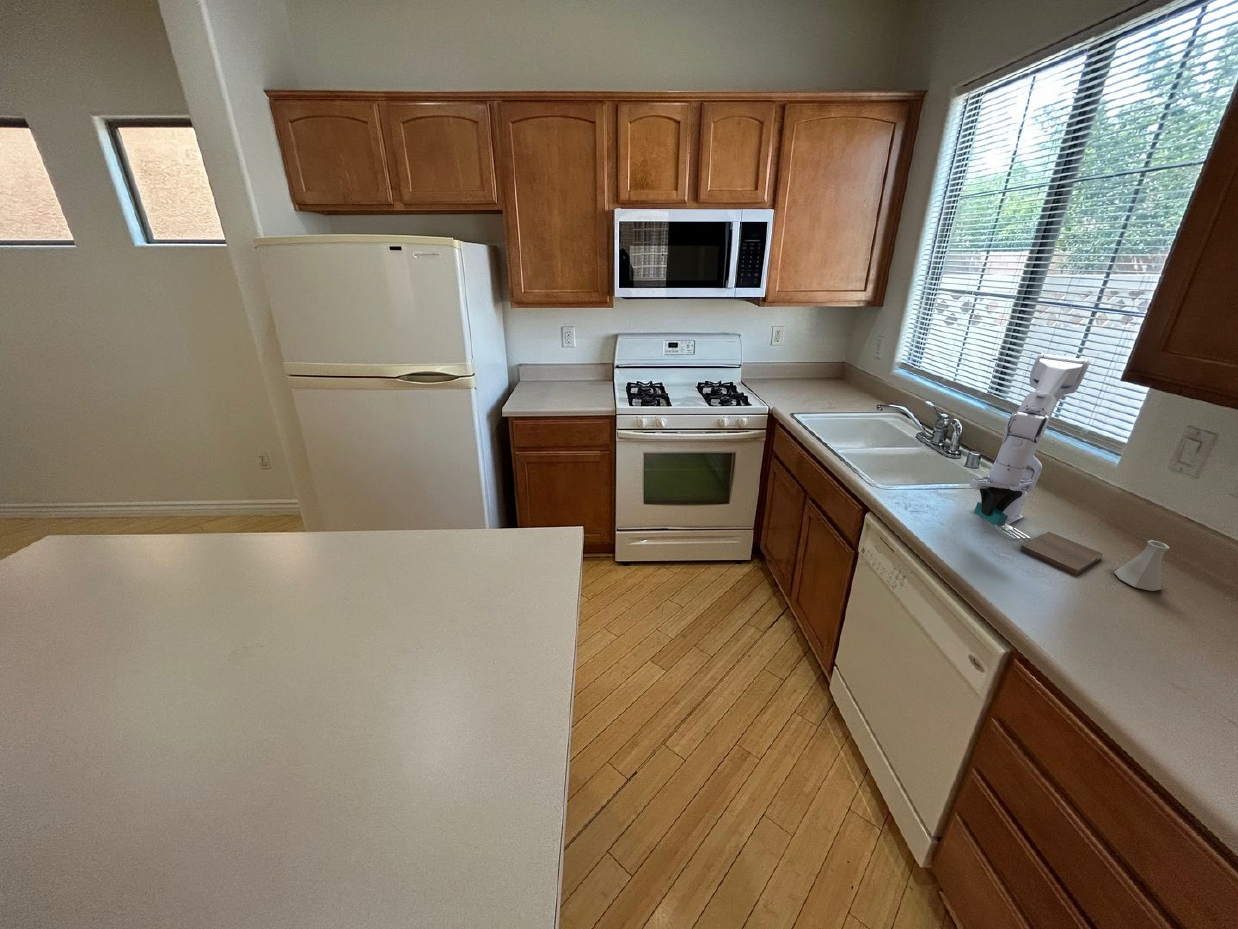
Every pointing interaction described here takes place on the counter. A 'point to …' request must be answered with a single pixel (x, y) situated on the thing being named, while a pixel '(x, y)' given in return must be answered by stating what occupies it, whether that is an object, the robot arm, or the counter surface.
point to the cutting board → (1061, 552)
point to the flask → (1144, 567)
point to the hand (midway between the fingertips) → (990, 514)
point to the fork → (1002, 524)
